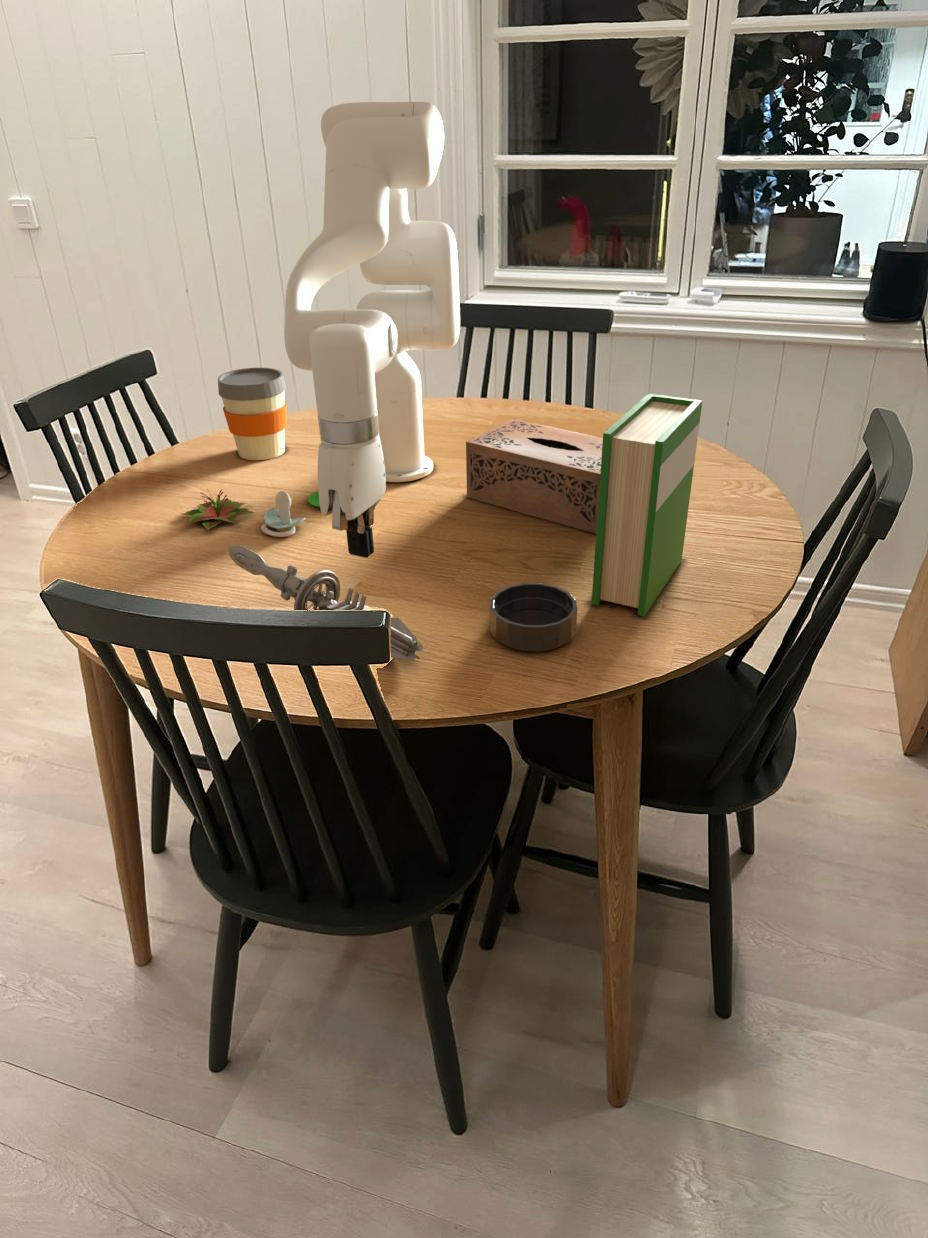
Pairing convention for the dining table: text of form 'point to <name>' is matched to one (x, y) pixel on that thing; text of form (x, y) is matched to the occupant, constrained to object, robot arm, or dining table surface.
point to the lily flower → (216, 511)
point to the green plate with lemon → (314, 499)
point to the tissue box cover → (537, 472)
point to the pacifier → (282, 523)
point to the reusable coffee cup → (255, 411)
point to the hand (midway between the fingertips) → (361, 553)
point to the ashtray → (533, 617)
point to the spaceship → (321, 596)
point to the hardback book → (644, 499)
